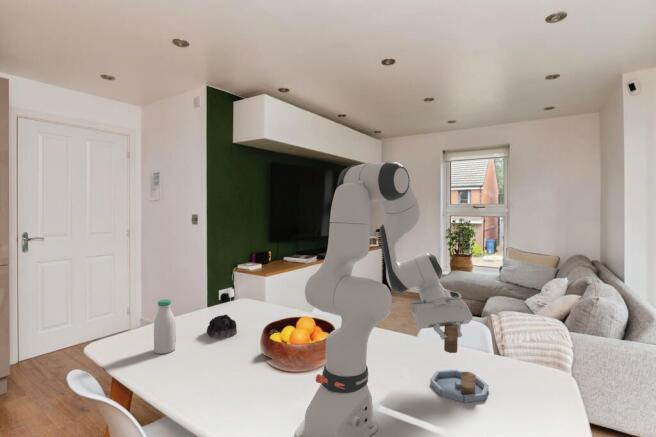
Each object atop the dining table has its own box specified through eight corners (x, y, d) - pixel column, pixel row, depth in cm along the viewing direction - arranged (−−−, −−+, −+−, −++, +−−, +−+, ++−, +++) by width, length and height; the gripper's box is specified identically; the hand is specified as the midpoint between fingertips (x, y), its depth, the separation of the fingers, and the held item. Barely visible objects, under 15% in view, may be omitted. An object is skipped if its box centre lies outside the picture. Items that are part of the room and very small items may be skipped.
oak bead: (473, 399, 101) (474, 379, 100) (459, 395, 103) (459, 375, 103) (476, 393, 104) (476, 373, 104) (462, 389, 106) (463, 370, 106)
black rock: (213, 329, 162) (211, 309, 161) (242, 327, 162) (239, 307, 161) (203, 343, 149) (200, 321, 148) (233, 340, 149) (231, 318, 147)
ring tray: (481, 412, 96) (481, 402, 96) (425, 394, 105) (425, 385, 105) (491, 387, 110) (491, 378, 109) (440, 373, 119) (440, 365, 118)
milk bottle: (175, 352, 135) (174, 302, 134) (153, 355, 132) (152, 304, 131) (176, 345, 142) (175, 297, 141) (155, 348, 139) (154, 299, 138)
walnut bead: (455, 354, 108) (455, 329, 108) (442, 351, 111) (443, 326, 110) (458, 349, 112) (459, 325, 111) (446, 346, 114) (446, 323, 114)
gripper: (411, 297, 114) (427, 336, 105) (464, 292, 120) (483, 330, 111) (405, 306, 119) (419, 345, 110) (455, 302, 124) (473, 338, 115)
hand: (452, 337), depth 110 cm, fingers closed on walnut bead, 4 cm apart
